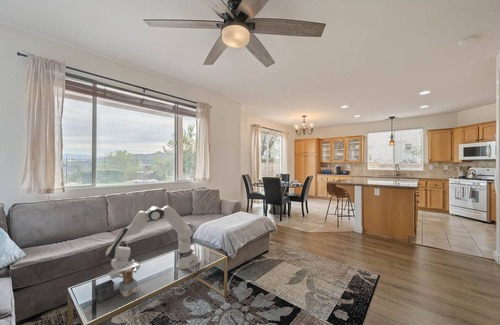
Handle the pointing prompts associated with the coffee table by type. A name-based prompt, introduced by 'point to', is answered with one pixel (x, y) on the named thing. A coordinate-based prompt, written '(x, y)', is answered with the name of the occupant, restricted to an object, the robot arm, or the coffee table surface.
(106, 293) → the small box
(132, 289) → the tower base
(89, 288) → the coffee table surface
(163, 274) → the coffee table surface
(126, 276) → the walnut block
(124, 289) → the tower top
